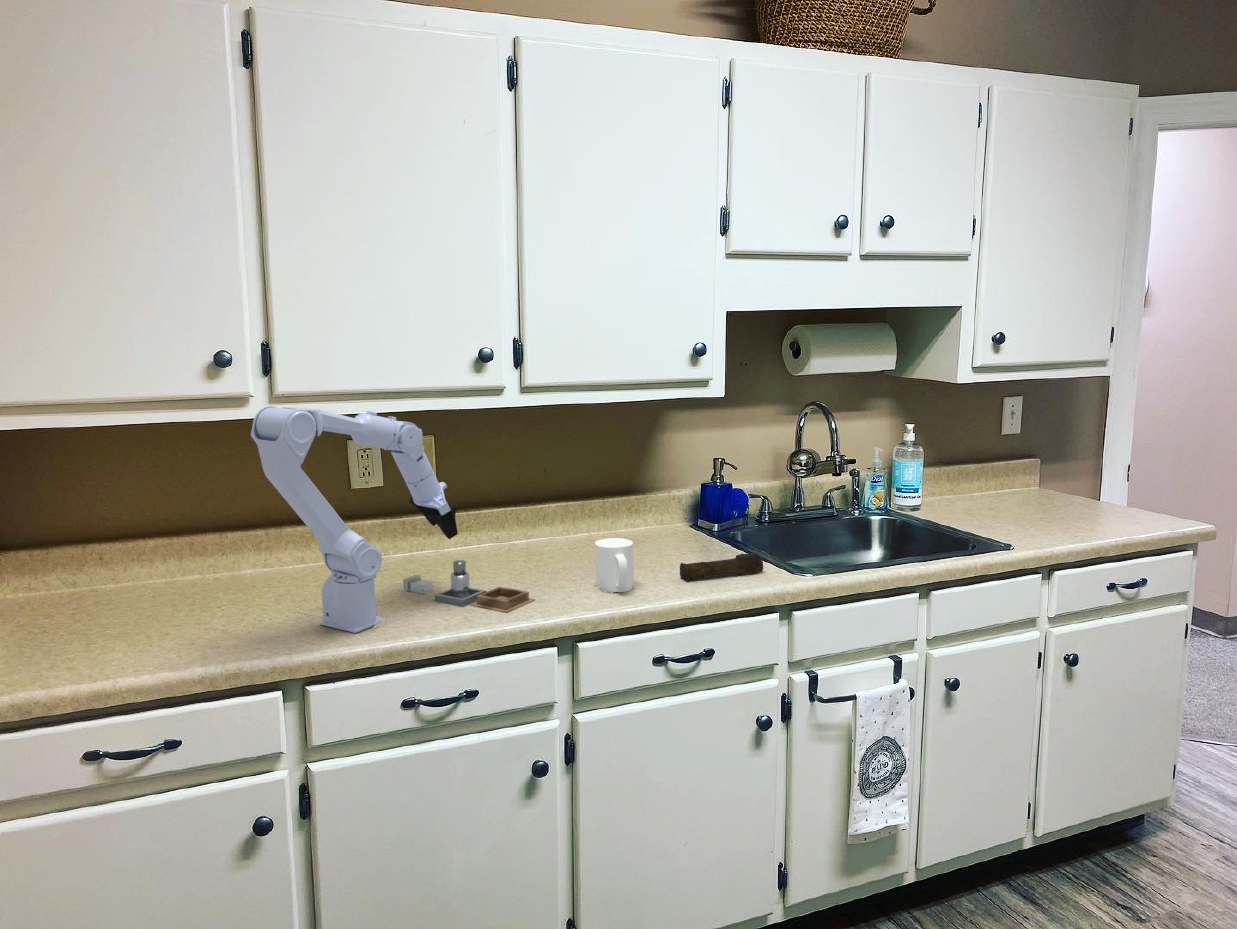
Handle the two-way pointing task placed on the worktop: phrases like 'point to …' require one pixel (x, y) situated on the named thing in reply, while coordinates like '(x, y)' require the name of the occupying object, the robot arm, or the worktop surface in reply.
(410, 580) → the grey stepped block
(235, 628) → the worktop surface
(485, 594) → the brown square tray
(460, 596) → the stepped metal cylinder
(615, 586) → the mug
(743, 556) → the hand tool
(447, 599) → the grey square tray
